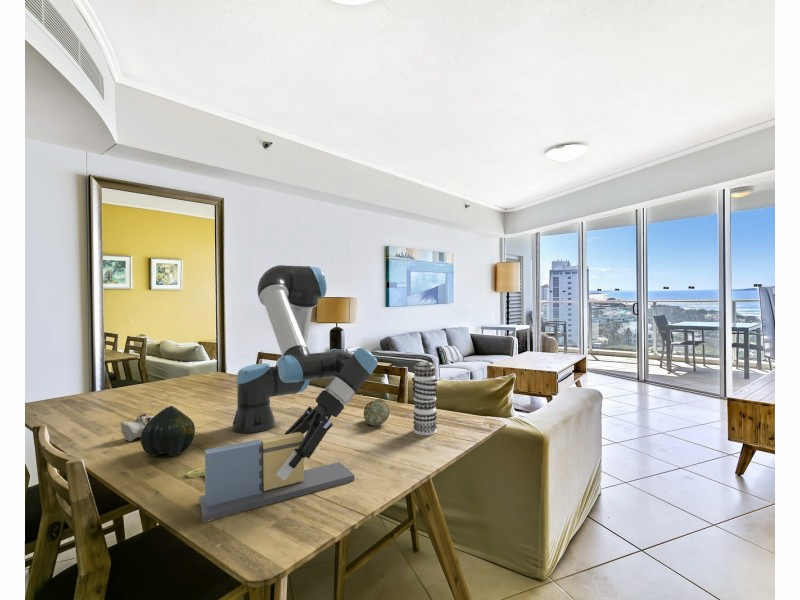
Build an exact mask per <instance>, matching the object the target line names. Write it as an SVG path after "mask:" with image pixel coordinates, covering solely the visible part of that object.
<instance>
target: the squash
mask: <svg viewBox="0 0 800 600" xmlns="http://www.w3.org/2000/svg"><path fill="white" fill-rule="evenodd" d="M153 416H154V417H153V418H152V419H151V420H150V421H149V422H148V423H147V424H146V426H145V427H144V429H143V431H142V434H141V437H140V444H141V447H142V449H143V451H144V452H145V453H146V454H148V455H149V456H153V455H156V456H159V455H166V454H167V455H169V457H175V456H177V455H179V452H180V453H184V452H185V451H187V450H188V449H189V448H190V447H191V444H193V441H194V438H195V435H196V432H195V431H196V428H195V427H196V426H195V423H194V422H193V420H192V419H191V418H190V417H189V416H188V415H187V414H185V413H183V412H182V411H181V410H179V409H178V408H176V407H175V406H173V405H170V406H166V407H165V408H164V409H163V408H162V410H161V411H159V412H158V413H157V414H155V415H153ZM174 455H175V456H174Z"/></svg>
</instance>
